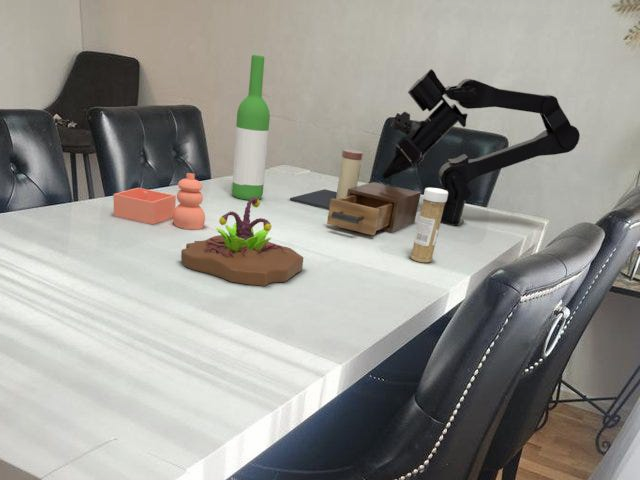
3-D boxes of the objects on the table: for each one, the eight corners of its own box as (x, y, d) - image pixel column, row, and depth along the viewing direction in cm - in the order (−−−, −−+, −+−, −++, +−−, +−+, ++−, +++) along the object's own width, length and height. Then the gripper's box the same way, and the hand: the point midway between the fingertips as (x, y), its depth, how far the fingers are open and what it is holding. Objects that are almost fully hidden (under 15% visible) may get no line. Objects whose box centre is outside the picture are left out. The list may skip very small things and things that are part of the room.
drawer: (365, 238, 138) (370, 212, 135) (318, 226, 142) (322, 201, 139) (396, 225, 152) (401, 201, 149) (352, 214, 156) (356, 191, 153)
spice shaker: (351, 200, 172) (360, 150, 165) (356, 205, 167) (365, 154, 161) (333, 198, 170) (340, 148, 164) (337, 203, 166) (345, 151, 160)
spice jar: (436, 262, 132) (453, 192, 124) (420, 263, 130) (437, 192, 122) (420, 255, 135) (437, 186, 127) (404, 257, 133) (420, 186, 125)
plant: (319, 269, 119) (328, 204, 112) (260, 292, 104) (267, 219, 98) (231, 243, 126) (235, 181, 120) (164, 261, 112) (165, 192, 106)
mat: (324, 191, 181) (324, 189, 180) (390, 206, 174) (390, 204, 173) (289, 200, 166) (290, 197, 165) (360, 217, 159) (361, 214, 158)
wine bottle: (261, 202, 159) (275, 58, 143) (230, 198, 159) (239, 53, 142) (262, 196, 166) (275, 57, 149) (232, 192, 165) (242, 52, 149)
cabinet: (391, 233, 149) (398, 200, 145) (342, 220, 153) (347, 188, 149) (414, 222, 161) (421, 192, 157) (368, 211, 165) (373, 181, 161)
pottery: (113, 215, 133) (112, 163, 128) (138, 208, 141) (137, 158, 135) (192, 233, 129) (194, 180, 123) (212, 224, 136) (215, 174, 131)
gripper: (415, 103, 161) (368, 152, 169) (411, 96, 145) (358, 150, 152) (443, 138, 163) (395, 186, 170) (442, 135, 147) (389, 188, 154)
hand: (384, 177), depth 162 cm, fingers open, 9 cm apart
